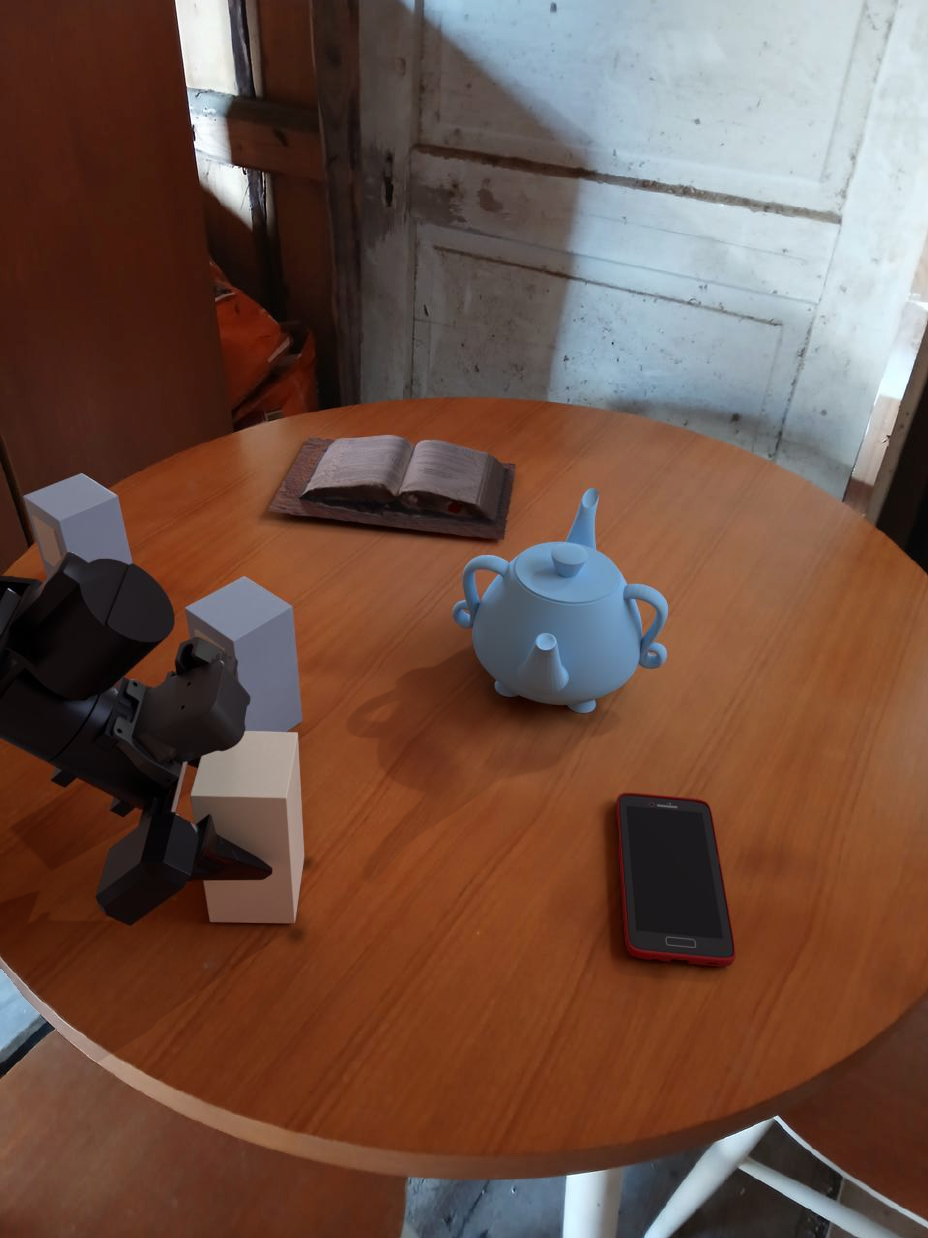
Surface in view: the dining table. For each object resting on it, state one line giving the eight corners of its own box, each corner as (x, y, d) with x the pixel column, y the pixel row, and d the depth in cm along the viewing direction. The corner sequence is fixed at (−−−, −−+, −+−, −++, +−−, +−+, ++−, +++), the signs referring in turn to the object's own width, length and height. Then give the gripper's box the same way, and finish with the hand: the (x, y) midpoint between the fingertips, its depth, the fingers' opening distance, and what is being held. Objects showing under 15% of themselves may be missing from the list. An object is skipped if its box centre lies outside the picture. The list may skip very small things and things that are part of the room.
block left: (87, 634, 88) (56, 521, 80) (53, 608, 91) (20, 496, 83) (142, 606, 92) (118, 495, 84) (108, 581, 95) (81, 472, 87)
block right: (247, 759, 77) (230, 642, 68) (203, 724, 79) (182, 608, 71) (302, 721, 80) (292, 606, 72) (258, 689, 83) (244, 575, 75)
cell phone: (625, 959, 64) (627, 951, 63) (614, 798, 75) (616, 790, 75) (735, 970, 63) (738, 963, 63) (707, 806, 75) (710, 799, 74)
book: (504, 546, 104) (508, 512, 101) (265, 516, 105) (264, 481, 103) (515, 472, 120) (519, 440, 118) (308, 446, 121) (308, 414, 119)
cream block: (206, 922, 64) (186, 795, 56) (222, 854, 69) (205, 729, 61) (294, 924, 64) (286, 798, 57) (304, 856, 69) (297, 732, 62)
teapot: (577, 598, 97) (595, 483, 88) (682, 718, 83) (716, 597, 74) (437, 632, 91) (442, 514, 82) (525, 768, 77) (542, 643, 69)
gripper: (112, 771, 44) (348, 897, 52) (182, 554, 59) (358, 677, 66) (-8, 872, 49) (226, 974, 56) (85, 647, 63) (261, 753, 71)
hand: (274, 830), depth 62 cm, fingers closed on cream block, 7 cm apart
